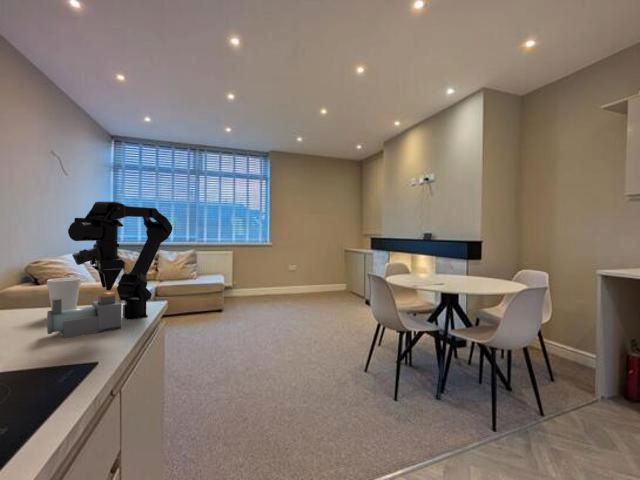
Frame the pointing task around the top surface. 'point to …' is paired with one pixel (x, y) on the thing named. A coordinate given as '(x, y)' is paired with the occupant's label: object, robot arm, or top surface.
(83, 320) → the housing
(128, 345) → the top surface
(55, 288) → the foam cup
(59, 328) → the cartridge
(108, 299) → the plunger
